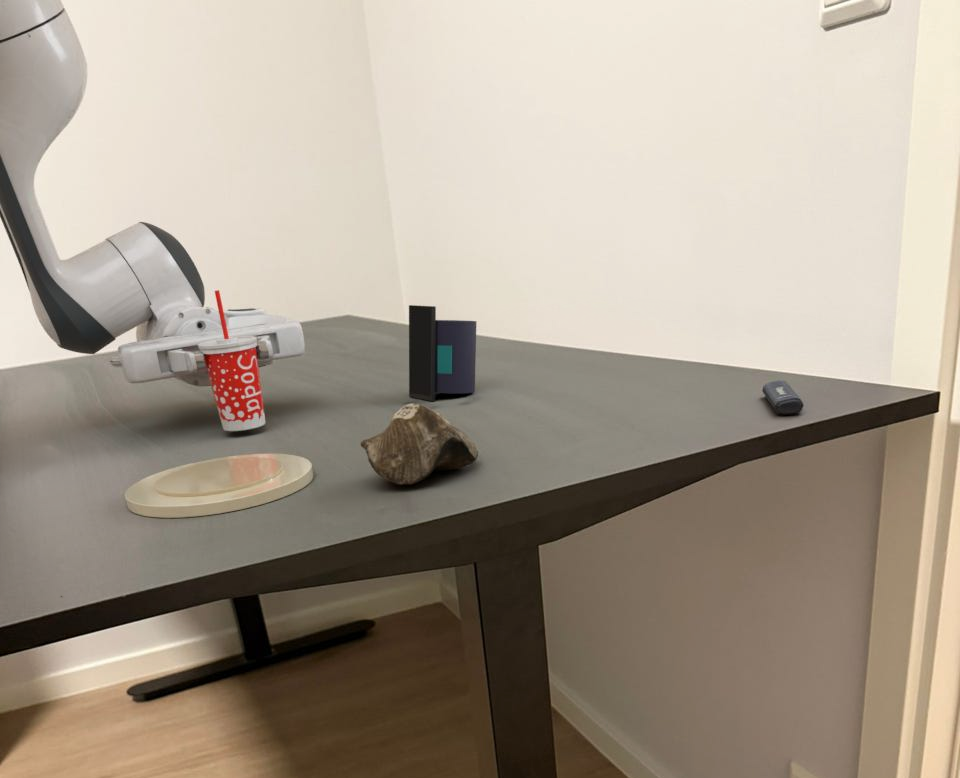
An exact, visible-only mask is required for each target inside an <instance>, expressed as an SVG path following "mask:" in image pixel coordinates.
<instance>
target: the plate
mask: <svg viewBox="0 0 960 778" xmlns="http://www.w3.org/2000/svg"><path fill="white" fill-rule="evenodd" d="M313 479H314V469H313V464H312V463H311V461H310V460H309V459H308V458H306V457H303V456H299V455H294V454H288V453H251V454H240V455H239V454H238V455H230V456H224V457H223V456H222V457H217V458H211V459H210V458H209V459H206V460H200V461H196V462H195V461H194V462H191V463H187V464H183V465H179V466H176V467H171V468H168V469H166V470H162V471H160V472H156V473H154V474H152V475H149V476H147V477H144V478H142V479H141V480H139V481H137V482H135V483H134V484H132V485H131V486H129V487H128V488H127V489H126V490H125V492H124V498H125V502H126V507H127V508H128V510H129V511H130V512H132V513H134V514H136V515H139V516H142V517H148V518H160V519H180V518H181V519H183V518H196V517H204V516H206V517H207V516H213V515H220V514H225V513H231V512H237V511H240V510H245V509H250V508H254V507H258V506H260V505H261V506H262V505H265V504H268V503H271V502H274V501H278V500H281V499H283V498H286V497H288V496H290V495H292V494H294V493H297V492H298V491H300V490H302V489H304V488H305V487H306V486H308V485H309V484H310V483H311V482H312V481H313Z"/></svg>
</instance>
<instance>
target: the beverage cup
mask: <svg viewBox="0 0 960 778" xmlns="http://www.w3.org/2000/svg"><path fill="white" fill-rule="evenodd" d="M214 295H215V299H216V305H217V309H218V310H219V315H220V320H221V325H222V330H223V334H224V338H221V339H217V340H212V341H207V342H203V343H200V344H198V348H199V349H200V352H202V353H203V355H204V362H205V364H206V369H207V373H208V376H209V380H210V383H211V386H210V387H211V390H212V394H213V398H214V402H215V405H216V408H217V413H218V415H219V419H220V422H221V426H222V429H223V431H225V432H226V431H228V432H239V431H240V432H241V431H246V430H247V431H248V430H252V429H253V430H254V429H256V428H260V427H263V426H264V425H266V416H265V408H264V399H263V395H262V394H263V391H262V383H261V377H260V370H259V369H260V368H258V361H257V354H256V346H257V342H256V341H257V337H254V336H243V337H229V336H228V331H227V326H226V321H225V316H224V311H223V310H224V308H223V302H222V296H221V293H220V290H219V289H218V290H214Z"/></svg>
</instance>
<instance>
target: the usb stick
mask: <svg viewBox="0 0 960 778" xmlns="http://www.w3.org/2000/svg"><path fill="white" fill-rule="evenodd" d="M761 391H762V392H763V395H764V396H765V398H766V400H767V401H768V403H769V404H770V405H771V407H772V408H773V410H774V411H775V412H776V413H777V414H778V415H781V416H782V415H784V416H788V415H790V416H791V415H796V414H799V413H800V412H802V410H803V408H804V402H803V401H802V399H801V398H800V396H799V395H798V394H797V393H796V392H795V390H794V389H792V387H791V386H790V384H789V383H788V381H786V380H781V379H780V380H774V381H769V382H767V383H765V384H764V385H763V386H762V390H761Z"/></svg>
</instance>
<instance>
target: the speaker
mask: <svg viewBox="0 0 960 778" xmlns="http://www.w3.org/2000/svg"><path fill="white" fill-rule="evenodd" d="M436 307H437V306H432V305H415V304H409V305H408V397H409V398H414V399H420V400H425V401H430V402H435V401H436V394H472V393H475V392H476V357H477V356H476V355H477V353H476V352H477V321H475V320H459V319H437V318H436V316H437V314H436V313H437V308H436Z"/></svg>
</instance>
